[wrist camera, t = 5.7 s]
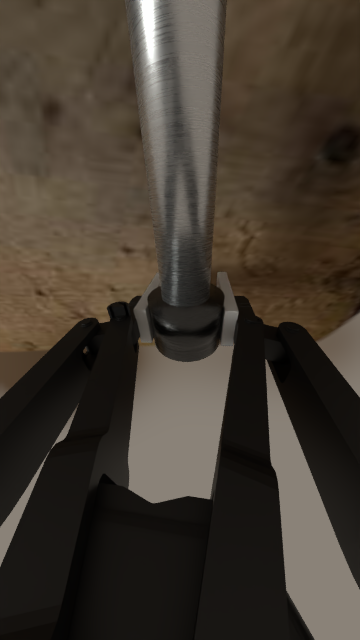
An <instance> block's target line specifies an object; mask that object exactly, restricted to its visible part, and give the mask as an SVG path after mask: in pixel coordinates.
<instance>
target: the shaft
mask: <svg viewBox="0 0 360 640" xmlns="http://www.w3.org/2000/svg"><path fill="white" fill-rule="evenodd" d="M125 5H126V13H127V21H128V29H129V37H130V45H131V53H132V61H133V69H134V77H135V85H136V93H137V101H138V109H139V117H140V126H141V134H142V142H143V150H144V158H145V166H146V174H147V182H148V190H149V198H150V206H151V214H152V222H153V230H154V238H155V246H156V254H157V262H158V270H159V278H160V286H159V287H157V288H155V289H154V290H152V291H151V292H150V294H149V295H148V298H147V300H148V306H149V312H150V317H151V323H152V328H153V334H154V339H155V344H156V347H157V349H158V350H159V352H161V353H162V354H163V355H164V356H166V357H168V358H170V359H172V360H176V361H182V362H191V361H198V360H201V359H204V358H206V357H208V356H210V355H211V354H212V353H213V352H214V351H215V350H216V349H217V347H218V345H219V342H220V333H221V324H222V316H223V307H224V299H225V296H224V293H223V291H222V290H221V289H220V288H218V287H217V286H215V285H213V284H210V280H211V263H212V246H213V228H214V211H215V194H216V177H217V160H218V142H219V125H220V108H221V91H222V74H223V56H224V39H225V22H226V5H227V0H125Z"/></svg>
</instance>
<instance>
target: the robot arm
mask: <svg viewBox="0 0 360 640" xmlns="http://www.w3.org/2000/svg"><path fill="white" fill-rule="evenodd" d="M159 286H160V278H159V273H157V274H156V275H155V277H154V278H153V280H152V281H151V283H150V284H149V286H148V288H147V289H146V291H145V292H144V294H143V295H142V296H136V297H134V298H133V299H132V300H131V301H130V303H129V304H128V303H127V302H115V303H112V304H110V305H109V306H108V307H107V310H108V313H109V316H110V318H111V319H110V322H105V323H99V322H98V320H97V319H96V318H87V319H83V320H82V321H80V322H78V323H77V324H76V325H75V326H74V327H73V328H72V329H71V330H70V331H69V332H68V333H67V334H66V335H65V336H64V337H63V338H62V339H61V340H60V341H59V342H58V343H57V344H56V345H55V346H53V347H52V348H51V349H50V350H49V351H48V352H47V354H45V356H43V357H42V358H41V359H40V360H39V361H38V362H37V363H36V364H35V365H34V366H33V367H32V368H31V369H30V370H29V371H28V372H27V373H26V374H25V375H24V376H23V377H22V378H21V379H20V380H19V381H18V382H17V383H16V384H15V385H14V386H13V387H12V388H11V389H9V390H8V391H7V392H6V393H5V394H4V396H2V397H1V398H0V526H1V525H2V524H3V522H4V521H5V520H6V518H7V517H8V516H9V514H10V513H11V511H12V510H13V508H14V507H15V505H16V504H17V502H18V501H19V499H20V498H21V496H22V495H23V493H24V492H25V490H26V488H27V487H28V485H29V483H30V482H31V480H32V478H33V477H34V475H35V474H36V472H37V470H38V469H39V467H40V465H41V464H42V462H43V460H44V459H45V457H46V456H47V454H48V452H49V451H50V452H49V454H48V456H47V458H46V460H45V462H44V465H43V467H42V469H41V472H40V474H39V477H38V479H37V481H36V484H35V486H34V488H33V491H32V493H31V495H30V498H29V500H28V503H27V505H26V507H25V510H24V512H23V514H22V517H21V519H20V522H19V524H18V526H17V529H16V531H15V533H14V536H13V538H12V541H11V543H10V545H9V548H8V550H7V552H6V555H5V557H4V559H3V562H2V564H1V567H0V640H314V638H313V636H312V634H311V633H310V631H309V629H308V627H307V626H306V624H305V622H304V621H303V619H302V617H301V615H300V613H299V612H298V610H297V608H296V607H295V605H294V603H293V601H292V600H291V598H290V596H289V594H288V593H287V591H286V582H285V570H284V557H283V543H282V529H281V515H280V502H279V489H278V481H277V476H276V472H275V470H274V469H273V467H272V465H271V460H270V445H269V427H268V426H269V425H268V405H267V385H266V367H265V359H266V360H267V362H268V364H269V367H270V369H271V372H272V374H273V377H274V380H275V382H276V385H277V387H278V390H279V392H280V395H281V397H282V400H283V402H284V405H285V407H286V410H287V413H288V415H289V417H290V420H291V423H292V425H293V428H294V430H295V433H296V435H297V438H298V440H299V443H300V445H301V448H302V450H303V453H304V456H305V458H306V461H307V463H308V466H309V468H310V471H311V473H312V476H313V479H314V481H315V484H316V486H317V489H318V491H319V493H320V496H321V499H322V501H323V504H324V507H325V509H326V512H327V514H328V517H329V519H330V522H331V524H332V527H333V529H334V532H335V534H336V537H337V540H338V542H339V545H340V547H341V549H342V551H343V554H344V556H345V558H346V561H347V563H348V565H349V568H350V570H351V573H352V575H353V577H354V579H355V581H356V583H357V585H358V587H359V589H360V397H359V396H358V395H357V394H356V392H355V391H354V390H353V389H352V387H351V386H350V385H349V384H348V382H347V381H346V380H345V379H344V377H343V376H342V375H341V374H340V372H339V371H338V370H337V368H336V367H335V366H334V365H333V363H332V362H331V361H330V359H329V358H328V357H327V356H326V354H325V353H324V352H323V351H322V349H321V348H320V347H319V346H318V344H317V343H316V342H315V340H314V339H313V338H312V337H311V335H310V334H309V333H308V332H307V330H306V329H305V328H304V327H303V326H301V325H299V324H296V323H293V322H283V323H280V325H279V327H273V326H269V325H265V324H263V321H262V319H261V318H259V317H257V316H255V314H254V312H253V309H252V307H251V305H250V303H249V300H248V299H247V298H246V297H244V296H234V295H233V292H232V289H231V285H230V282H229V279H228V276H227V273H226V272H217V285H216V286H217V287H218V288H220V289H221V290H222V291H223V293H224V296H225V299H224V307H223V316H222V324H221V333H220V342H221V345H222V346H233V341H234V344H235V345H234V350H233V355H232V363H231V370H230V377H229V383H228V389H227V396H226V402H225V409H224V416H223V422H222V428H221V435H220V441H219V448H218V454H217V462H216V467H215V473H214V479H213V485H212V491H211V498H210V499H204V498H197V497H190V496H186V497H182V498H177V499H173V500H168V501H164V502H160V503H150V502H148V501H146V500H145V499H143V498H142V497H140V496H138V495H137V494H135V493H134V492H132V491H130V490H129V489H128V486H129V468H128V450H129V449H128V448H129V440H130V430H131V420H132V411H133V400H134V391H135V381H136V371H137V362H138V352H139V343H138V340H139V337H140V338H141V342H149V343H152V341H153V338H154V334H153V328H152V323H151V317H150V312H149V306H148V300H147V298H148V295H149V294H150V292H151V291H152V290H154V289H155V288H157V287H159ZM85 347H86V349H87V352H86V353H85V354H84V353H83V350H84V349H85ZM78 403H79V405H78ZM77 405H78V408H77V411H76V413H75V416H74V418H73V421H72V424H71V426H70V429H69V432H68V434H67V436H66V438H65V439H64V440H63V441H60V442H58V443H56V444H55V446H54V447H53V448H52V446H53V444H54V443H55V441H56V439H57V438H58V436H59V434H60V433H61V431H62V430H63V428H64V426H65V425H66V423H67V421H68V419H69V418H70V417H71V415H72V413H73V411H74V410H75V408H76V407H77ZM51 448H52V449H51ZM50 449H51V450H50Z"/></svg>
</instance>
